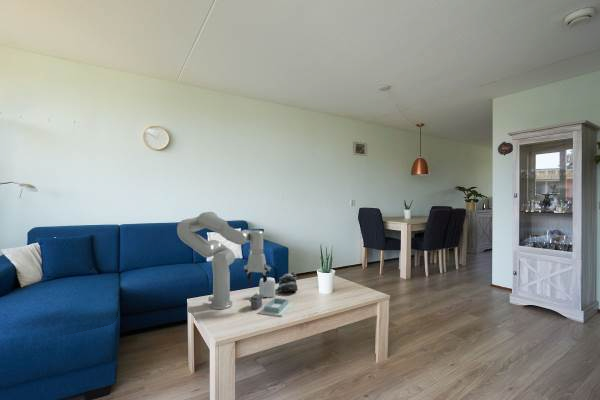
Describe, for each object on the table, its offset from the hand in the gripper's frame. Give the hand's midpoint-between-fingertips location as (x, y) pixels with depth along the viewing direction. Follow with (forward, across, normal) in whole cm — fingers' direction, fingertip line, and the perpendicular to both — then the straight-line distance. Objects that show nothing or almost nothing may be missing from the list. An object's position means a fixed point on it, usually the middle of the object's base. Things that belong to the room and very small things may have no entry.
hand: (257, 281), depth 168 cm
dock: (+16, +11, +2) cm, 19 cm away
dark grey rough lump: (+16, +6, +32) cm, 36 cm away
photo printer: (+16, -3, +19) cm, 25 cm away
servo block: (+16, -1, 0) cm, 16 cm away
